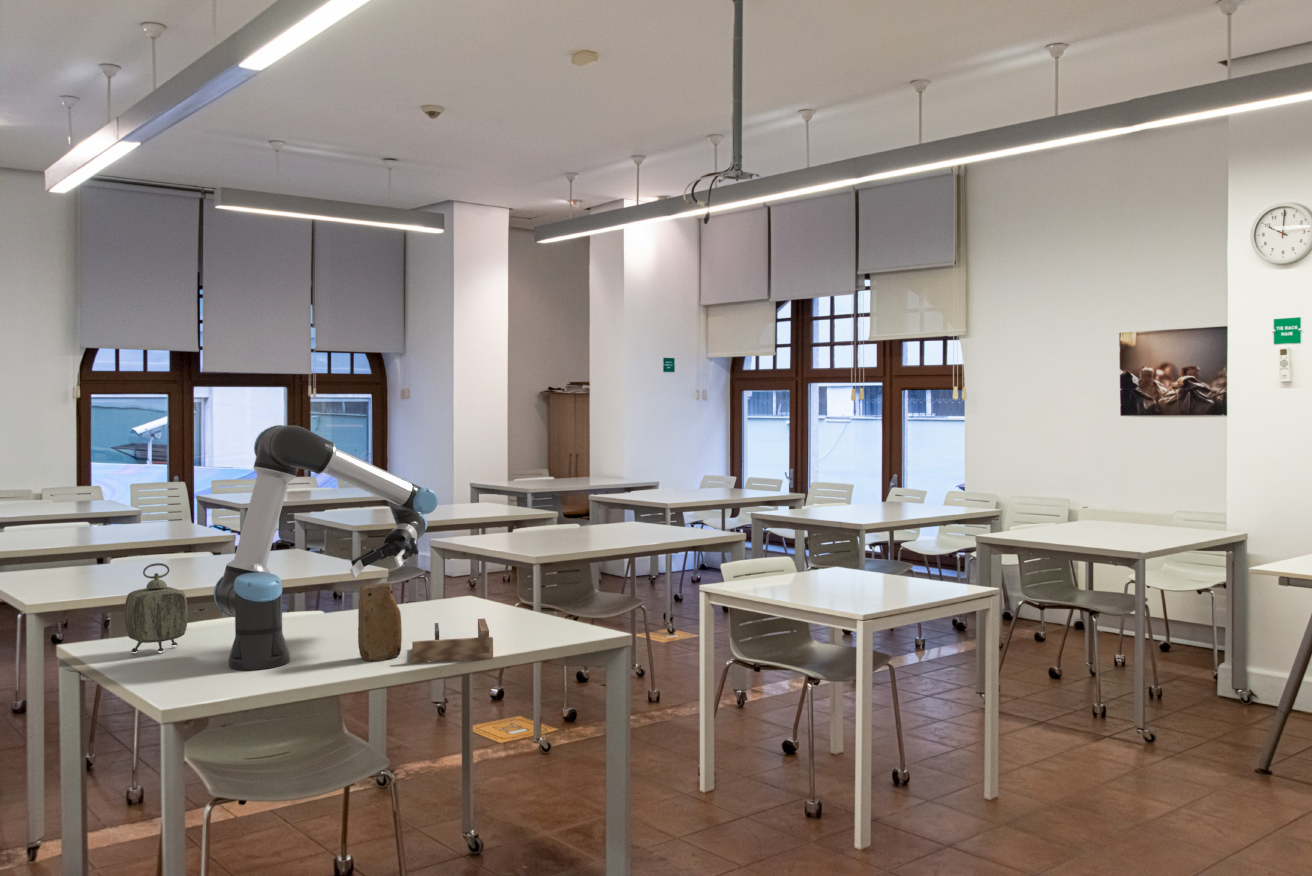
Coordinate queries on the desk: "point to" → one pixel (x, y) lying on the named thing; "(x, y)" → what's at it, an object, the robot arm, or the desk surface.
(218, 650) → the desk surface
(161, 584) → the tabletop clock
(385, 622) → the block
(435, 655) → the wooden holder
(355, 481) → the robot arm
